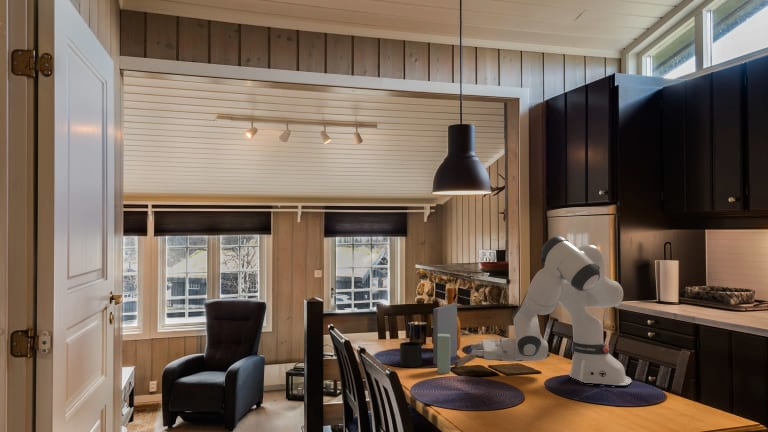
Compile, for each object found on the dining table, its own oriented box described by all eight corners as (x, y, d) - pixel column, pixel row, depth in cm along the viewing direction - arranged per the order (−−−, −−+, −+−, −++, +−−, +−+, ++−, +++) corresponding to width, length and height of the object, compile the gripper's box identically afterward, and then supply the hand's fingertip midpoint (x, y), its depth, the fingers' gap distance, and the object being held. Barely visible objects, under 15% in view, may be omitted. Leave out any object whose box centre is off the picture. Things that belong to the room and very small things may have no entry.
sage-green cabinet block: (450, 370, 219) (450, 334, 220) (449, 373, 215) (449, 336, 215) (438, 369, 220) (438, 333, 221) (437, 373, 215) (437, 336, 216)
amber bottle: (454, 351, 254) (454, 289, 255) (436, 349, 260) (436, 288, 261) (464, 348, 262) (463, 287, 263) (446, 345, 268) (446, 286, 269)
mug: (414, 360, 237) (414, 340, 237) (425, 366, 226) (425, 345, 226) (394, 361, 234) (394, 341, 234) (404, 368, 223) (404, 346, 223)
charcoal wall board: (476, 357, 243) (476, 304, 244) (458, 367, 224) (457, 310, 225) (453, 354, 249) (453, 303, 250) (433, 364, 230) (433, 308, 231)
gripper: (508, 364, 203) (472, 363, 205) (503, 351, 224) (470, 351, 226) (508, 347, 204) (472, 347, 205) (503, 336, 224) (470, 336, 226)
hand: (471, 349), depth 216 cm, fingers open, 8 cm apart
